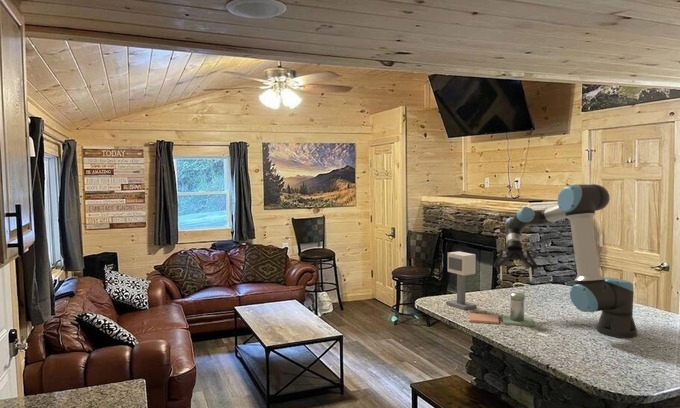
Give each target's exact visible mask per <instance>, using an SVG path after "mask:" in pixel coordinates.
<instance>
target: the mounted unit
mask: <svg viewBox="0 0 680 408" xmlns="http://www.w3.org/2000/svg"><path fill="white" fill-rule="evenodd" d="M476 257H477V255H476V254H475V253H469V252H463V251H451V252H447V272H448V273H451V274H456V299H452V300H447V301H446V302H445V305H447V306H451V307H453V308H456V309H460V310H461V311H466V310H472V309H476V308H477V306H478V305H477V304H476V303H472V302H469V301H466V282H467V281H466V278H467V276H470V275H476V263H477V261H476Z"/></svg>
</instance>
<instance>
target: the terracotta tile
mask: <svg viewBox="0 0 680 408" xmlns="http://www.w3.org/2000/svg"><path fill="white" fill-rule="evenodd" d="M469 323H479V324H495V325H499V323H500V320H499V315H498V314H487V313H486V314H483V313H471V312H470V313H469Z"/></svg>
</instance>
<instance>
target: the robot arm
mask: <svg viewBox="0 0 680 408" xmlns="http://www.w3.org/2000/svg"><path fill="white" fill-rule="evenodd" d="M610 197H611V196H610V194H609V191H608V190H607V189H606V188H605V187H604V186H602V185H600V184H596V183H595V184H592V183H591V184H578V183H577V184H569V185H565V186H564V187H563V188H562V189H561V190H560V192H559V193H558V195H557V204H555V205H551V206H550V207H547V208H544V209H537V210H536V209H535V210H534V209H532V208H531V207H528V206H523V207H522V208H520V209H519V210H518V211H517V213H515V215H514V216H511V217H509V218H507V219H506V220H505V224H504V225H505V227H504V229H505V243H506V244H505V246H506V251H504V250H503V249H501V250H500V252H499V255H498V256H497V258H496V260H494V262H493V267H494V268H496V269H497V274H499V278H500V281H502V280H503V266H504V265H505V264H506V263H508V262H509V261H510V260H511V261H518V260H519V261H520V262H522V264H524V265H525V266H526V267H528V272H529V273H528V275H529V282H533V276H534V275H535V270H537V269H538V264H537V263H536V261H535V259H533V257H532V255H531V253H530V251H529V250H527V251H523V242H522V241H523V240H522V232H523V230H524V229H525V228H526V227H527V226H541V225H542V226H544V225H546V226H548V225H549V226H550V225H553V224H555V223H556V222H558V221H561V220H562V219H567V220H568V221H569V223H570V230H571V237H572V245H573V252H574V259H575V266H576V273H577V274H576V277H575V278H574V279H573V280H574V285H572V286H571V288H570V290H569V297H570V300H571V302H572V305H573V306H574V307H575V308H576V309H577V310H579V311H580V312H584V313H595V312H601V314H600V316H599V319H598V321H597V324H596V331H597V332H598V333H601V334H603V335H606V336H610V337H614V338H623V339H624V338H626V339H627V338H634V337H636V336H637V335H638V329H637V325H636V322H635V320H634V314H633V310H634V293H635V291H634V285H633V283H632V282H631V281H629V280H625V279H621V278H614V277H603V276H602V275H601V274H600V266H599V259H598V252H597V251H598V250H597V245H596V244H597V243H596V237H595V231H594V225H593V224H594V223H593V218H594V216H596V211H601V210H604V209H605V208H606V207H607V206H608V204H610V203H609V202H610ZM505 255H506V256H505ZM504 256H505V257H504ZM503 257H504V258H503ZM526 258H527V259H526ZM501 259H502V260H501Z"/></svg>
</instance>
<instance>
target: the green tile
mask: <svg viewBox="0 0 680 408" xmlns="http://www.w3.org/2000/svg"><path fill="white" fill-rule="evenodd" d="M501 318H502V324H503V325H510V326H522V327H523V326H524V327H534V325H535V323H534V321H533V319H532V317H531V316H524V321H513V320H511V319H510V315H502V316H501Z"/></svg>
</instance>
